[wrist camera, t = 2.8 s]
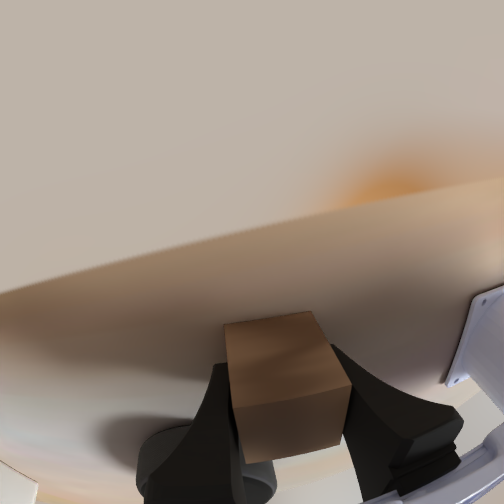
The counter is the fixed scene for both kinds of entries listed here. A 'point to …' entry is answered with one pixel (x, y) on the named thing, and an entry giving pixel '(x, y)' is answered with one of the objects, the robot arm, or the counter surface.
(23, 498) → the medicine bottle
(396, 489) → the robot arm
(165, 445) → the smart speaker
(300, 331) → the walnut block
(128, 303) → the counter surface
